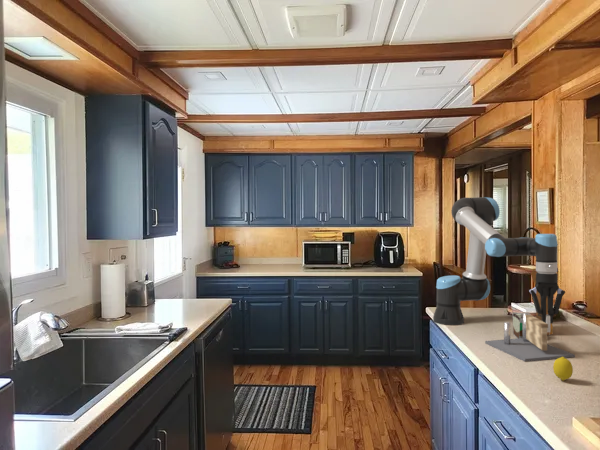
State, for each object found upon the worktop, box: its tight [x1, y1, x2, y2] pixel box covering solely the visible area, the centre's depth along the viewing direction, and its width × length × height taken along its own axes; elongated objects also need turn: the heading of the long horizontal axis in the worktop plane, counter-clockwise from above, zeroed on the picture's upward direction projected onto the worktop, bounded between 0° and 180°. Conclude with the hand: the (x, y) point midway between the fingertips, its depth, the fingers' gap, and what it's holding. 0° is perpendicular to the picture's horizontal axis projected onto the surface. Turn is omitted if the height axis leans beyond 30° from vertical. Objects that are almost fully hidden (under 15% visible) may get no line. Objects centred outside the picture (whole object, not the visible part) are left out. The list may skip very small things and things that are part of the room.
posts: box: [503, 311, 531, 345], centre depth 183 cm, size 3×14×13 cm, turn 112°
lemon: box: [552, 357, 574, 382], centre depth 143 cm, size 6×6×8 cm
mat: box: [484, 337, 576, 363], centre depth 176 cm, size 24×22×1 cm
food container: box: [512, 311, 523, 339], centre depth 194 cm, size 12×6×10 cm, turn 168°
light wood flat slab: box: [525, 314, 548, 350], centre depth 175 cm, size 16×2×10 cm, turn 173°
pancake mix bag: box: [530, 270, 554, 336], centre depth 204 cm, size 7×19×28 cm, turn 163°
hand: (547, 331), depth 172 cm, fingers closed
